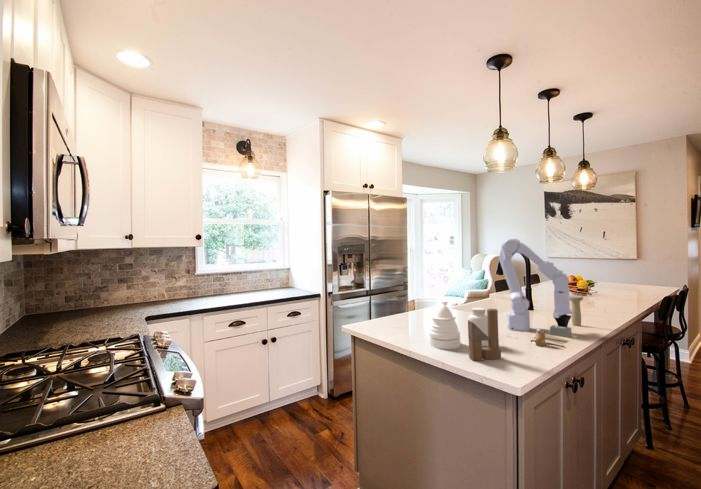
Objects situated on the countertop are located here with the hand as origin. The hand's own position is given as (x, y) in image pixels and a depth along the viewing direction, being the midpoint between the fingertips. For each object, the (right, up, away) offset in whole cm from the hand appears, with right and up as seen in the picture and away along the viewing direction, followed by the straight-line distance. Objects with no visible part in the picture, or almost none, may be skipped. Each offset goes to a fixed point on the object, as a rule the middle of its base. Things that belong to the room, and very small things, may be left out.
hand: (562, 331), depth 148 cm
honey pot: (-54, -4, -6) cm, 55 cm away
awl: (-17, -3, -12) cm, 20 cm away
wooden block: (-45, -4, -25) cm, 51 cm away
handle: (+15, -2, +13) cm, 20 cm away
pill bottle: (-40, -4, -8) cm, 41 cm away
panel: (-5, -2, -4) cm, 7 cm away
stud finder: (-3, -1, -3) cm, 4 cm away
